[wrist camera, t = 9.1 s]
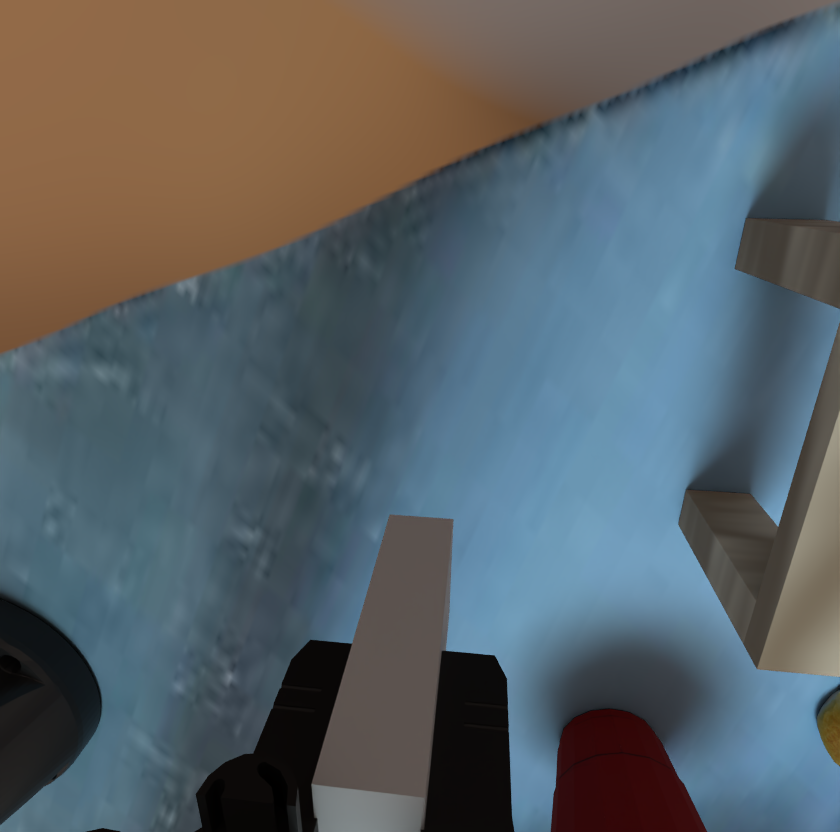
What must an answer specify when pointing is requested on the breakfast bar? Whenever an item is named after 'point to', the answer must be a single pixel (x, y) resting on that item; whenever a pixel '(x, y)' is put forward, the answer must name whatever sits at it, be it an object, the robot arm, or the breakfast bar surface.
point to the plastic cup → (618, 779)
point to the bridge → (808, 496)
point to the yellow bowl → (831, 726)
